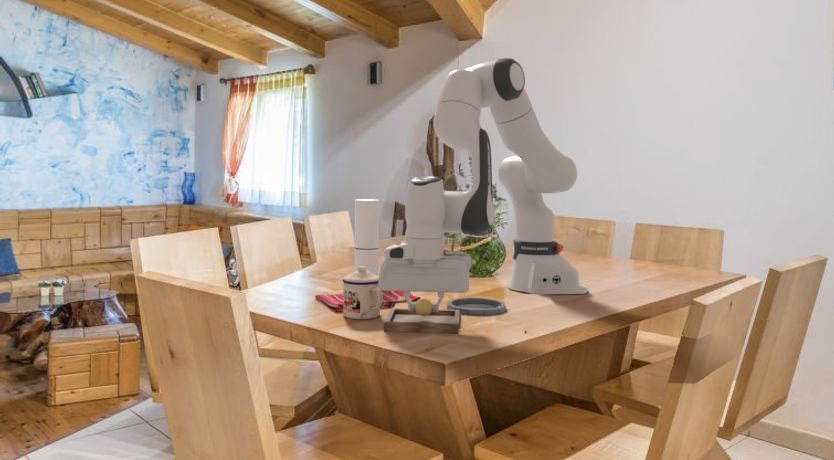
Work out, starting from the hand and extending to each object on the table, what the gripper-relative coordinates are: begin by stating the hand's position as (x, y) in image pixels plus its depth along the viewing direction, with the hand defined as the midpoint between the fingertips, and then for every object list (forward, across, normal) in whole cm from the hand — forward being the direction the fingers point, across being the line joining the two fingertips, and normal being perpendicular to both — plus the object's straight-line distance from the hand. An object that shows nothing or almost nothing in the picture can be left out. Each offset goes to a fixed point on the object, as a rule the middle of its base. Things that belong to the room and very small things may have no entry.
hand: (423, 311), depth 146 cm
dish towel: (+4, +16, -22) cm, 27 cm away
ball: (+1, 0, 0) cm, 1 cm away
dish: (+3, -12, -14) cm, 19 cm away
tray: (+3, 0, 0) cm, 3 cm away
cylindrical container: (+3, +20, -47) cm, 51 cm away
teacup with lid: (+3, +14, -6) cm, 16 cm away
